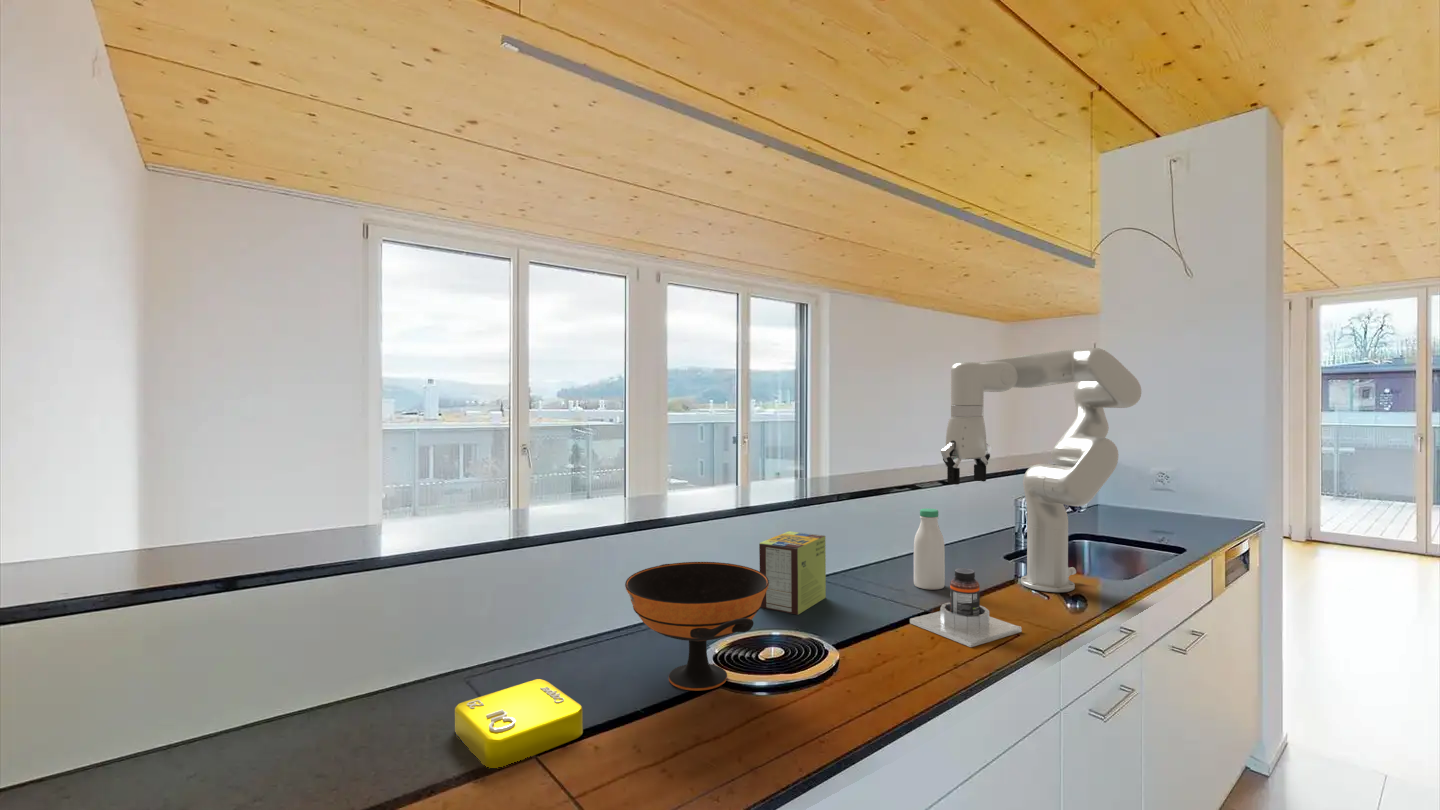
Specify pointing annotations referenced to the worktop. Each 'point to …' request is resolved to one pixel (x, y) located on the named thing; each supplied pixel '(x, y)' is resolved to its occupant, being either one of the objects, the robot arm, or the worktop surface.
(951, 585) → the supplement bottle
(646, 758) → the worktop surface
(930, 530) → the milk bottle
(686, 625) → the greek kylix
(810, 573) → the protein box
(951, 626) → the duct flange
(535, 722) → the element tile
